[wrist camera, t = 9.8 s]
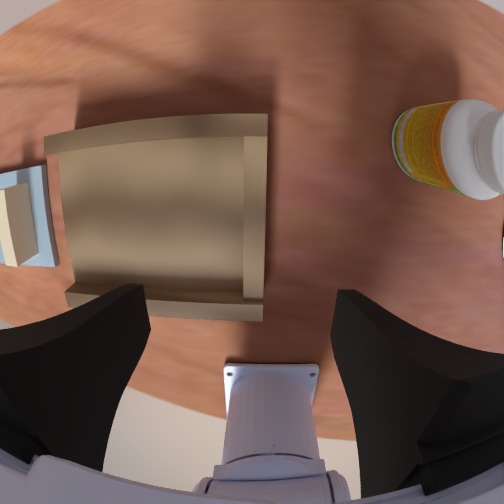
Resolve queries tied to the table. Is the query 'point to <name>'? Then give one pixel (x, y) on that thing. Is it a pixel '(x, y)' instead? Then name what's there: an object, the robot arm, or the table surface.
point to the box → (168, 212)
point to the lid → (26, 219)
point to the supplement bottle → (453, 146)
